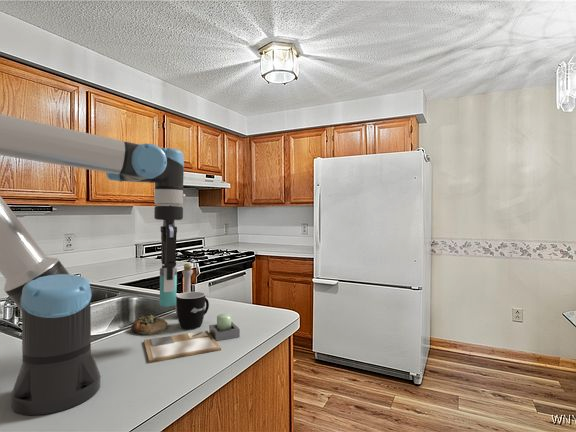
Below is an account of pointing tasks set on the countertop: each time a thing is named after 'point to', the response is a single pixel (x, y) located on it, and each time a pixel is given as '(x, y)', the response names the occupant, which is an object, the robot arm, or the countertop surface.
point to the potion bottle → (186, 279)
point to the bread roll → (148, 325)
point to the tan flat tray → (180, 346)
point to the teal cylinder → (167, 297)
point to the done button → (223, 322)
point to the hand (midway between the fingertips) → (167, 289)
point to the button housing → (224, 332)
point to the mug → (191, 309)
